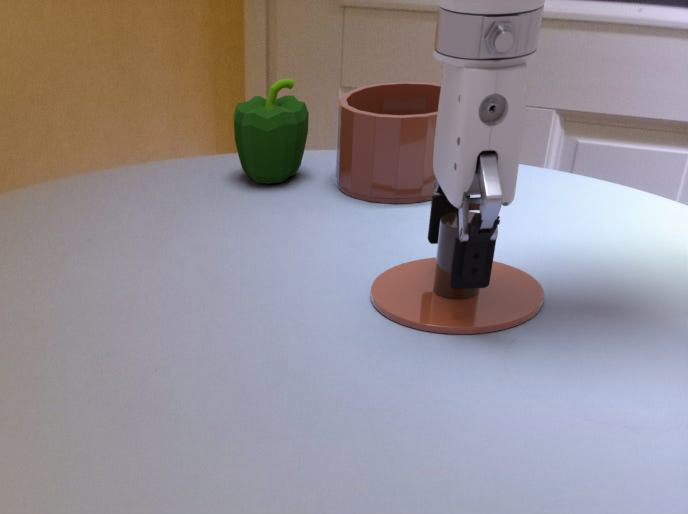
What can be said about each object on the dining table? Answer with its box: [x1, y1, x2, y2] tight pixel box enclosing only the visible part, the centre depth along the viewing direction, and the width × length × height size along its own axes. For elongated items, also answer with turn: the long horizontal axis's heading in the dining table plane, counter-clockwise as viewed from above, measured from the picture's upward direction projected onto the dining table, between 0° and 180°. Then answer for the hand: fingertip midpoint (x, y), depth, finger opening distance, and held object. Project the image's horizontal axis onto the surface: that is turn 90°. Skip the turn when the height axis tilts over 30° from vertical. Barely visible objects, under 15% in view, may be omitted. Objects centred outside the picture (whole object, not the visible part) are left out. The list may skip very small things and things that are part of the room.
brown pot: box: [335, 80, 442, 204], centre depth 107 cm, size 14×14×8 cm
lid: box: [369, 211, 545, 335], centre depth 84 cm, size 15×15×7 cm
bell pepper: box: [233, 78, 310, 185], centre depth 110 cm, size 8×8×10 cm
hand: (456, 263), depth 84 cm, fingers open, 9 cm apart
